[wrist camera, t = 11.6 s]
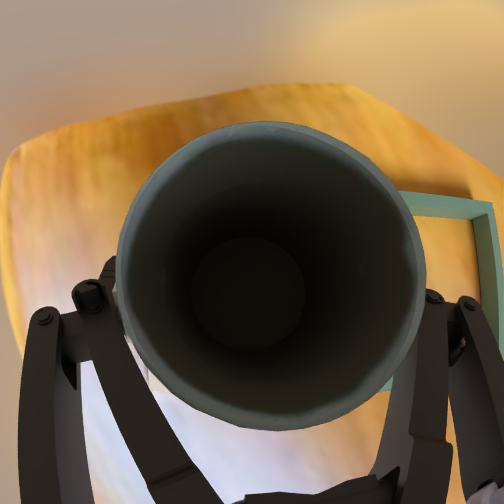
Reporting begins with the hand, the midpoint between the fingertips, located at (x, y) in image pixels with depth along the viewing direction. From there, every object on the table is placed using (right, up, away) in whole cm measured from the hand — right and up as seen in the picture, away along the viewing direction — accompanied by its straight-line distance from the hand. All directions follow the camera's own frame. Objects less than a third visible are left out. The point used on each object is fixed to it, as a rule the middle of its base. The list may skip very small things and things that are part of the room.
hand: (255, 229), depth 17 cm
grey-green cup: (0, -4, +4) cm, 6 cm away
